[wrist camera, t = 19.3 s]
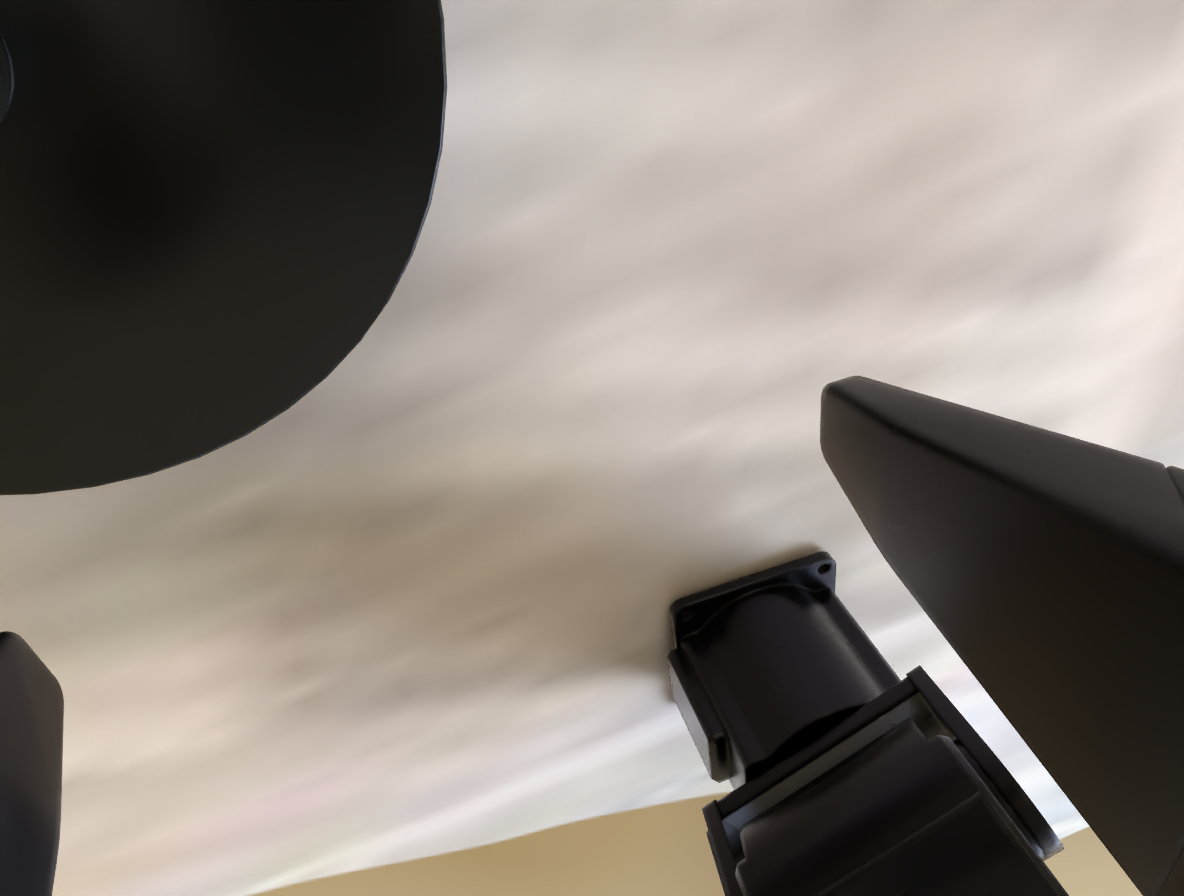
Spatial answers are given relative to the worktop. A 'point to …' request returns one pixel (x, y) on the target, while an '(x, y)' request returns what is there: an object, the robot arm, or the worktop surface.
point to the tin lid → (198, 216)
